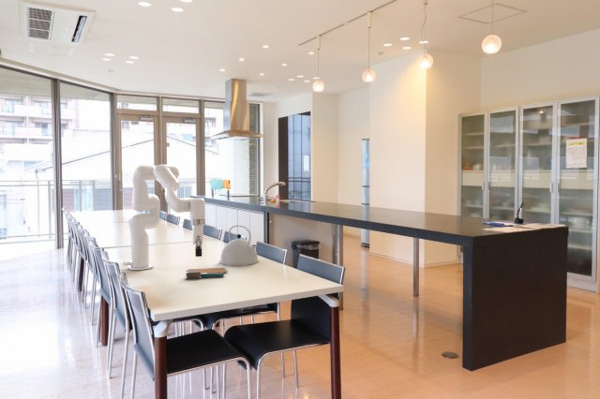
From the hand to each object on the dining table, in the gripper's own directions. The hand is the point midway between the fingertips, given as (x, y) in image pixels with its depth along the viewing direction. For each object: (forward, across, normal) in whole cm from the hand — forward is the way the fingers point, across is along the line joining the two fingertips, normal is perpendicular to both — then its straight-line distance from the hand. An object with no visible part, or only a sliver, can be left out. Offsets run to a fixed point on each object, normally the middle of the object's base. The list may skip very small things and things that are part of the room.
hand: (198, 254), depth 238 cm
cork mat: (+12, -14, +4) cm, 19 cm away
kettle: (+12, -39, +25) cm, 48 cm away
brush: (+12, 0, +3) cm, 13 cm away
